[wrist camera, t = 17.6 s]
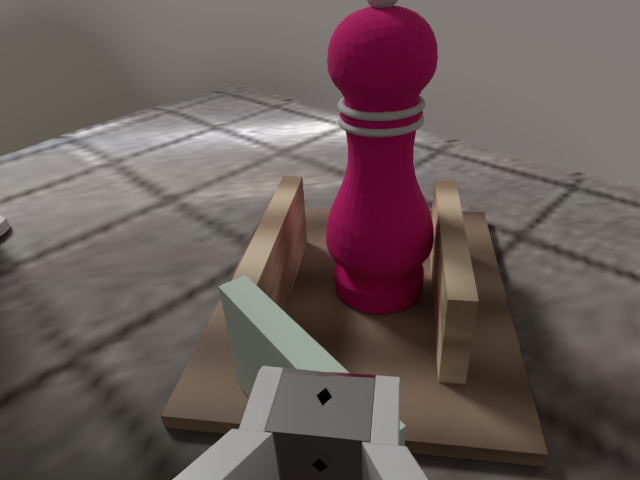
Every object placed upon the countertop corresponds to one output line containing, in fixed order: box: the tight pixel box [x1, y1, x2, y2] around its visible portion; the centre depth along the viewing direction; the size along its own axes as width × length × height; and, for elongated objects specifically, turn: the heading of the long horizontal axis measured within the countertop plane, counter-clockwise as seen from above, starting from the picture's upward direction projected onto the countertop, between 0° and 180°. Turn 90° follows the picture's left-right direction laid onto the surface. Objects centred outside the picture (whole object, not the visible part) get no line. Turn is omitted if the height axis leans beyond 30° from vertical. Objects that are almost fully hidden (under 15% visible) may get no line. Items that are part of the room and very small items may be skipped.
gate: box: [218, 275, 406, 446], centre depth 22 cm, size 2×12×7 cm, turn 36°
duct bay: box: [161, 176, 548, 467], centre depth 34 cm, size 24×20×7 cm
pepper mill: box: [326, 0, 438, 314], centre depth 30 cm, size 7×7×20 cm
